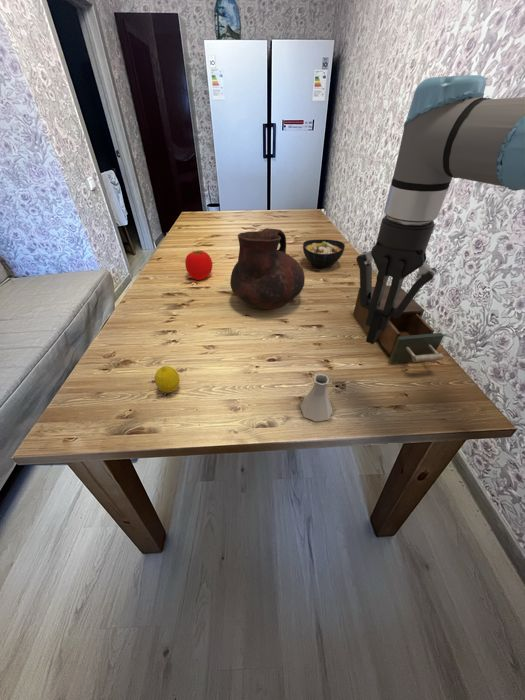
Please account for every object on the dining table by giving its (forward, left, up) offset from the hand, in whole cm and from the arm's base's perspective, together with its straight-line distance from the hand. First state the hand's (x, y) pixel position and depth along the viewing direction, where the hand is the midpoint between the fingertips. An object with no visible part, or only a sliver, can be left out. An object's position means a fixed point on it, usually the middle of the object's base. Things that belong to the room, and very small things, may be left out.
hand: (371, 339), depth 58 cm
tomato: (+79, 0, -16) cm, 81 cm away
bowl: (+56, -47, -16) cm, 75 cm away
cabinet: (+13, -28, -16) cm, 35 cm away
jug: (+47, -10, -16) cm, 51 cm away
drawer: (+1, -21, -15) cm, 26 cm away
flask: (+2, +11, -16) cm, 20 cm away
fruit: (+28, +35, -16) cm, 48 cm away
